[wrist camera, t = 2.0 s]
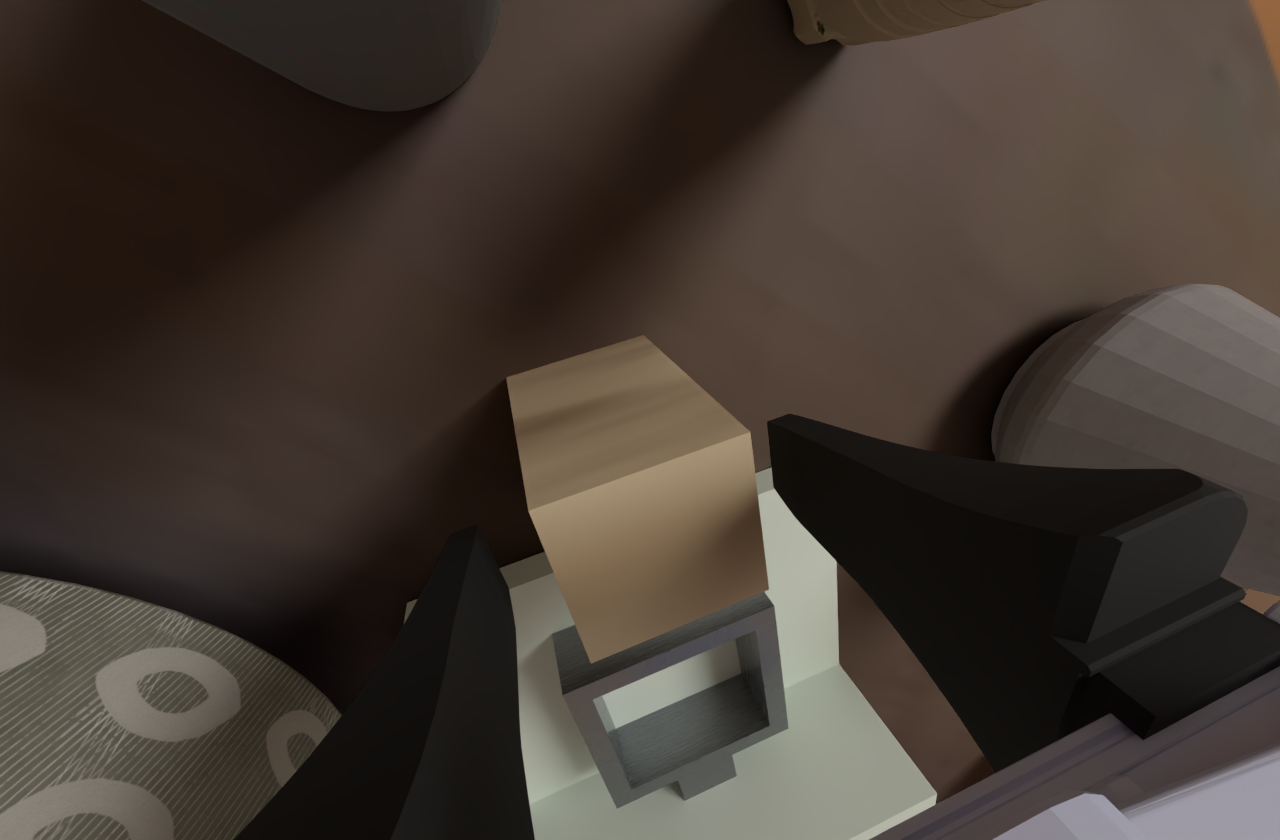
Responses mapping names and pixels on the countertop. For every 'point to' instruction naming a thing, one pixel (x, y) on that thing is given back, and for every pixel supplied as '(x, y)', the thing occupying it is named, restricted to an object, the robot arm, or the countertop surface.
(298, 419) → the countertop surface
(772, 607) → the grey square frame
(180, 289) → the countertop surface
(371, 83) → the bottle
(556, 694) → the mounting board
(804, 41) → the handle
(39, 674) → the planter
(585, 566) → the oak post
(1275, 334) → the coffee pot
